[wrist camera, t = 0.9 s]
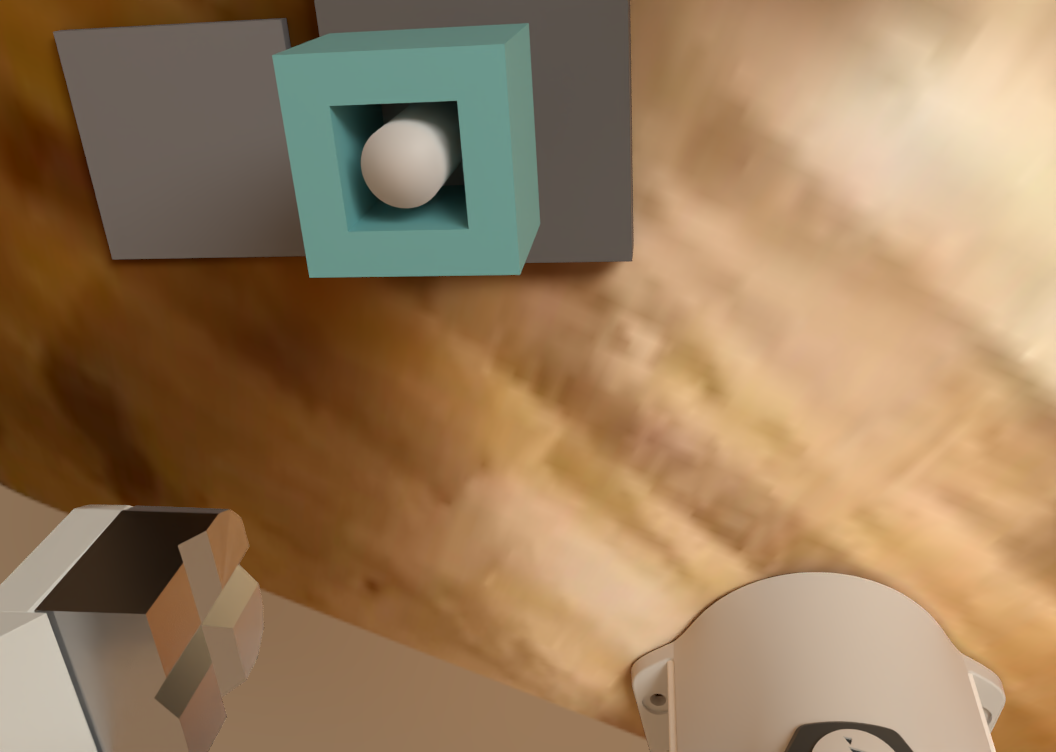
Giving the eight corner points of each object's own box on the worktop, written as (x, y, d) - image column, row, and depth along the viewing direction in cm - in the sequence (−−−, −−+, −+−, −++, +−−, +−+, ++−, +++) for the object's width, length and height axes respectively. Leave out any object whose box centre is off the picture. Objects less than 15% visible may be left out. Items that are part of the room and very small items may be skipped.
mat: (323, 251, 44) (319, 255, 43) (119, 255, 45) (112, 259, 45) (286, 17, 39) (281, 19, 39) (61, 30, 41) (53, 31, 40)
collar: (540, 223, 32) (520, 274, 28) (357, 228, 33) (309, 277, 29) (528, 22, 30) (504, 44, 25) (329, 33, 31) (272, 55, 26)
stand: (633, 245, 42) (619, 388, 29) (365, 250, 43) (247, 387, 31) (628, -117, 36) (607, -127, 23) (317, -94, 37) (146, -94, 25)
